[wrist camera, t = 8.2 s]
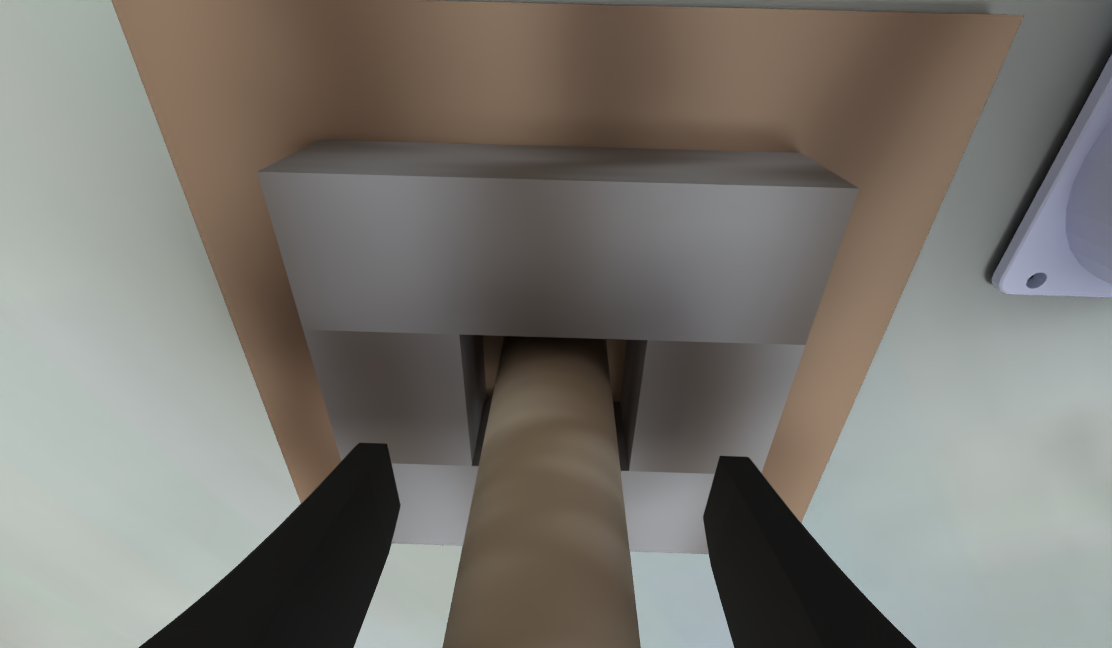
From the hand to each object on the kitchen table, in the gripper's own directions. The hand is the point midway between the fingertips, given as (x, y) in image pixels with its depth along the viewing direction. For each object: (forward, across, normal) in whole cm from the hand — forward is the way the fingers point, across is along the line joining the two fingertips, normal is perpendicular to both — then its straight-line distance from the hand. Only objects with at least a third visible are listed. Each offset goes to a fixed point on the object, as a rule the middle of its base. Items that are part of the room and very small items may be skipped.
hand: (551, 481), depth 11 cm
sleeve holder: (+6, 0, 0) cm, 6 cm away
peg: (+5, 0, 0) cm, 5 cm away
